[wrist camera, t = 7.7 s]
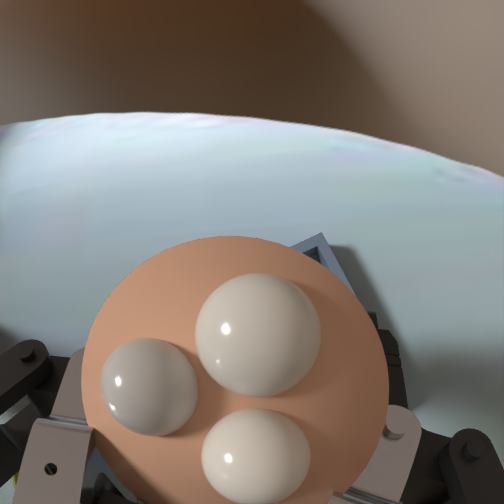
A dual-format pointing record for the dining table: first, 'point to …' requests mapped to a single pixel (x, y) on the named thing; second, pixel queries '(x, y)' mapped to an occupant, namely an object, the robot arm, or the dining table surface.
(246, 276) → the tan rounded pillar
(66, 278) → the dining table surface
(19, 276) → the dining table surface
